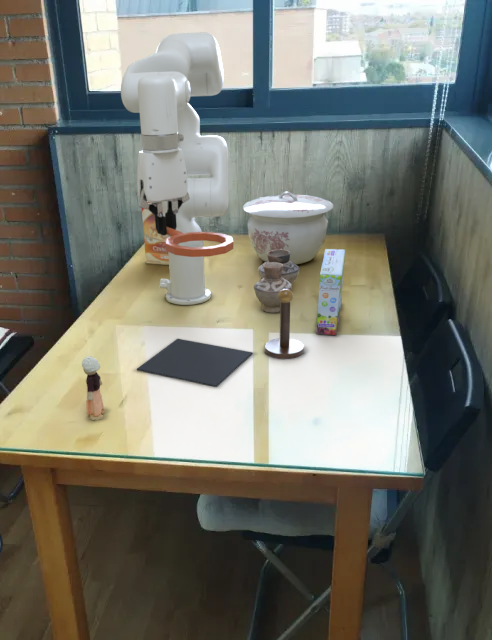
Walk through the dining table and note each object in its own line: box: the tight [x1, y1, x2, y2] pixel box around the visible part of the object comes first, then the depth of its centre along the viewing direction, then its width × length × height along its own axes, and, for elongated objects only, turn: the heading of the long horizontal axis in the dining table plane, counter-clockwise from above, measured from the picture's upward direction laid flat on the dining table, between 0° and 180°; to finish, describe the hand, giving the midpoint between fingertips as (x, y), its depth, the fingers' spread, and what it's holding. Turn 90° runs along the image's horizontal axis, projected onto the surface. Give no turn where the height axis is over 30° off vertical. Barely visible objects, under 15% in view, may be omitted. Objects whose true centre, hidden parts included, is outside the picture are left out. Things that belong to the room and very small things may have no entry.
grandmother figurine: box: [81, 355, 106, 421], centre depth 134 cm, size 8×4×13 cm, turn 5°
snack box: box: [315, 248, 346, 336], centre depth 171 cm, size 21×6×15 cm, turn 168°
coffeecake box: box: [141, 201, 196, 266], centre depth 215 cm, size 15×7×20 cm, turn 67°
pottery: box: [253, 250, 300, 314], centre depth 185 cm, size 11×25×12 cm, turn 170°
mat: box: [136, 338, 253, 388], centre depth 156 cm, size 20×18×1 cm
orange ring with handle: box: [166, 226, 234, 258], centre depth 144 cm, size 24×14×2 cm, turn 33°
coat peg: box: [264, 289, 305, 360], centre depth 156 cm, size 9×9×15 cm
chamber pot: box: [242, 191, 335, 266], centre depth 213 cm, size 28×28×21 cm
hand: (166, 232), depth 151 cm, fingers closed on orange ring with handle, 1 cm apart
